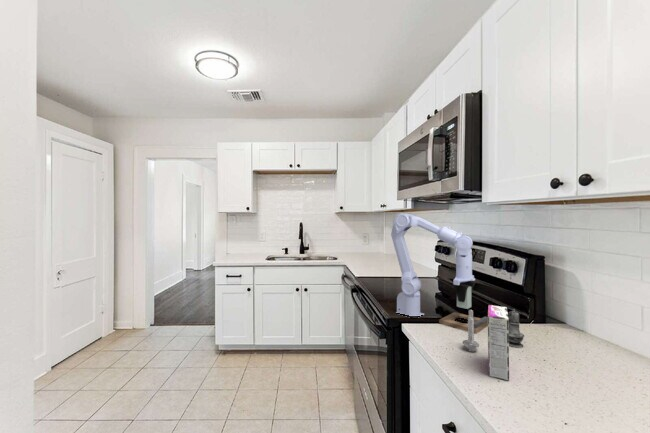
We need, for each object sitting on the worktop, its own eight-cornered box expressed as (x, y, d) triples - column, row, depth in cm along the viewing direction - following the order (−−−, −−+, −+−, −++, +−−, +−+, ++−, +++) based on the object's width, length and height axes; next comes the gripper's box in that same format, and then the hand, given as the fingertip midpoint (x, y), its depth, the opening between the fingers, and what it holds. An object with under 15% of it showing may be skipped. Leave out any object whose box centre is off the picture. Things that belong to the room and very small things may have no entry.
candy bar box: (487, 359, 88) (487, 304, 88) (507, 363, 86) (507, 306, 86) (487, 376, 79) (487, 315, 79) (509, 382, 76) (509, 318, 76)
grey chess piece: (528, 348, 96) (528, 311, 96) (510, 348, 96) (510, 311, 96) (517, 340, 101) (517, 305, 101) (499, 340, 102) (500, 305, 102)
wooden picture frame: (439, 323, 118) (439, 319, 118) (454, 315, 127) (454, 312, 127) (476, 333, 107) (476, 329, 107) (489, 324, 117) (490, 320, 117)
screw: (460, 346, 97) (476, 347, 96) (464, 352, 92) (481, 354, 92) (460, 306, 97) (476, 307, 96) (464, 311, 92) (481, 312, 92)
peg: (456, 306, 117) (456, 286, 117) (461, 304, 120) (461, 284, 120) (467, 308, 114) (467, 288, 114) (471, 306, 117) (471, 286, 117)
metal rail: (472, 327, 109) (472, 323, 109) (484, 320, 117) (484, 316, 117) (476, 328, 108) (476, 324, 108) (487, 320, 116) (487, 317, 116)
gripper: (466, 269, 109) (466, 306, 109) (481, 265, 119) (481, 299, 119) (448, 267, 114) (447, 302, 114) (463, 263, 124) (463, 295, 124)
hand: (463, 300), depth 117 cm, fingers closed on peg, 4 cm apart
